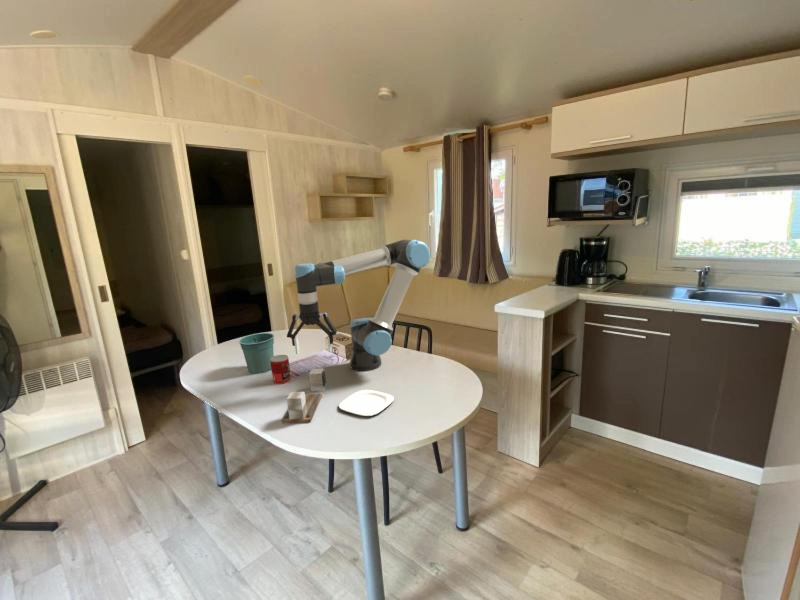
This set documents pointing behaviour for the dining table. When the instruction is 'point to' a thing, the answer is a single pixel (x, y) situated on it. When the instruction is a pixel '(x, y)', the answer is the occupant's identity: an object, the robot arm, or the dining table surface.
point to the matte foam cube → (317, 380)
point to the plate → (366, 402)
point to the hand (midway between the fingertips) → (314, 352)
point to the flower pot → (258, 351)
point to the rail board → (308, 404)
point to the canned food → (280, 369)
